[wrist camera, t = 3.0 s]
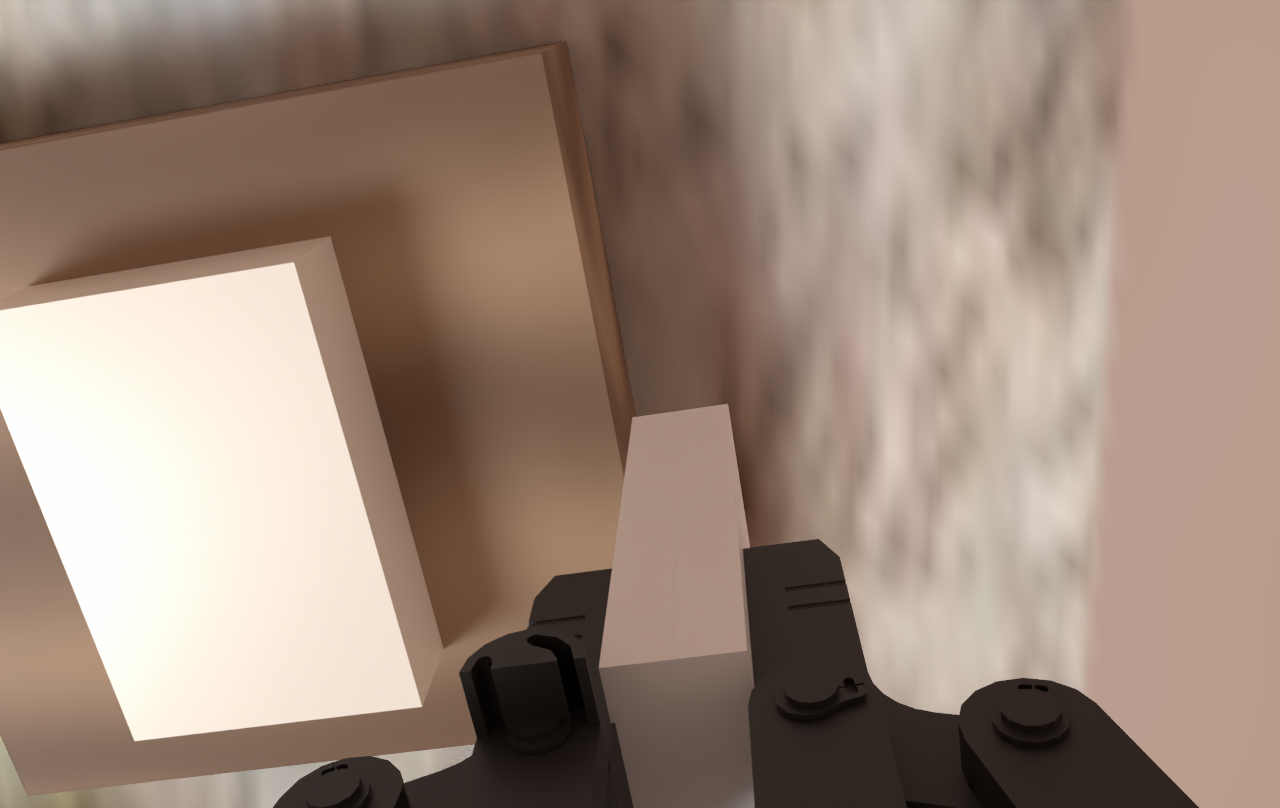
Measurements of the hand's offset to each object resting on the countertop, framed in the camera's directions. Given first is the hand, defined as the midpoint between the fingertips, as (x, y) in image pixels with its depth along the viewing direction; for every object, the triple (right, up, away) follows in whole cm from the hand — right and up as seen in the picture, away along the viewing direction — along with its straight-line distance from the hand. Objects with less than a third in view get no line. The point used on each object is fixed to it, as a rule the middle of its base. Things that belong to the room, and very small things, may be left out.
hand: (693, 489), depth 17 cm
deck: (-9, +1, +9) cm, 12 cm away
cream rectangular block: (-9, 0, +5) cm, 10 cm away
